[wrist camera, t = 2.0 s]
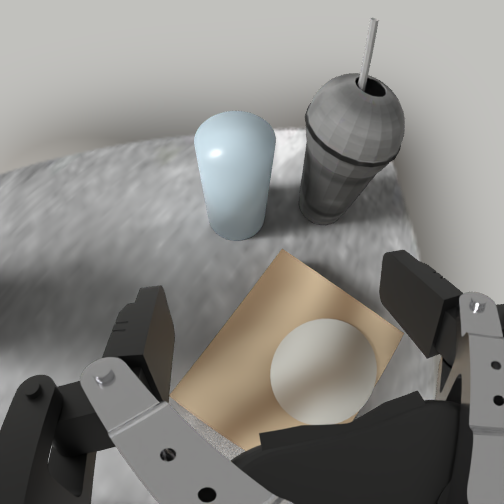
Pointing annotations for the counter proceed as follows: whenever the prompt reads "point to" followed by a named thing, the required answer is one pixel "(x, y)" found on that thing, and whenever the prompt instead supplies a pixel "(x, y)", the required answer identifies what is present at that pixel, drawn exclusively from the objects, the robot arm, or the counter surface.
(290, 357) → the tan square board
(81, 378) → the robot arm
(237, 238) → the pale blue domed cylinder
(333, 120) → the beverage cup
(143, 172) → the counter surface
